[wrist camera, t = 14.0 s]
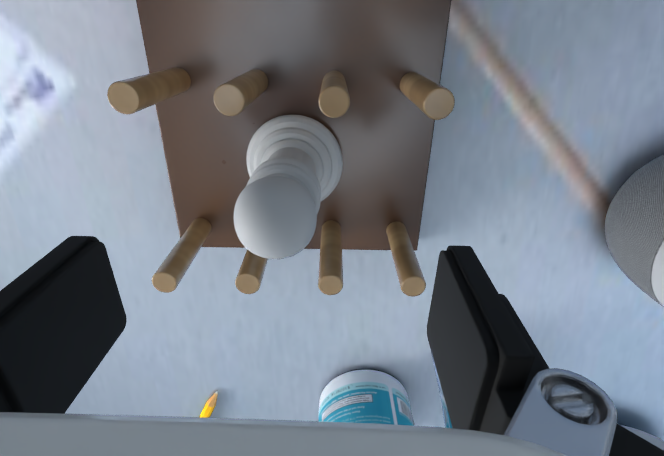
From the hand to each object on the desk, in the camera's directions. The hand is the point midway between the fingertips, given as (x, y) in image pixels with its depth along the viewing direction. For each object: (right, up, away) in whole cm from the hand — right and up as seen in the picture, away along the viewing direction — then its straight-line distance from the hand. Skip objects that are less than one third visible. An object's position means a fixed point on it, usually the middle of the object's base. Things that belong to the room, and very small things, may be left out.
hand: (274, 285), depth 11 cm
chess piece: (0, +6, +11) cm, 12 cm away
